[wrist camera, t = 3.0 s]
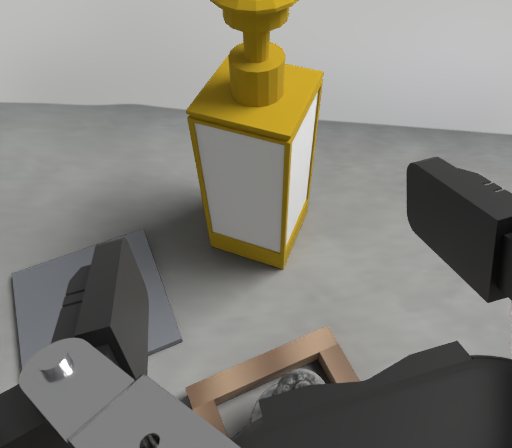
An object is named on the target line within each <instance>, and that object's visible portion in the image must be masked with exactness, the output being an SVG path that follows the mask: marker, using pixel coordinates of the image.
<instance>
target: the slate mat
mask: <svg viewBox="0 0 512 448" xmlns="http://www.w3.org/2000/svg"><path fill="white" fill-rule="evenodd" d="M122 237H125V238H126V239H127V241H128V243H129V245H130V248H131V250H132V253H133V255H134V258H135V260H136V263H137V265H138V267H139V270H140V272H141V275H142V277H143V280H144V283H145V286H146V289H147V293H148V298H149V326H148V355H150V354H153V353H155V352H158V351H160V350H163V349H165V348H168V347H170V346H172V345H175V344H177V343H180V342H182V338H181V335H180V333H179V330H178V327H177V324H176V321H175V318H174V315H173V312H172V310H171V307H170V304H169V301H168V298H167V295H166V292H165V289H164V287H163V284H162V281H161V278H160V275H159V272H158V269H157V266H156V264H155V261H154V258H153V255H152V252H151V249H150V246H149V243H148V241H147V238H146V235H145V232H144V229H141V230H138V231H135V232H132V233H129V234H126V235H123V236H120V237H117V238H114V239H118V238H122ZM114 239H111V240H114ZM111 240H108V241H111ZM105 242H107V241H105ZM95 246H96V245H94V246H91V247H88V248H85V249H82V250H79V251H76V252H73V253H70V254H67V255H64V256H61V257H59V258H56V259H53V260H50V261H47V262H44V263H41V264H38V265H35V266H32V267H29V268H26V269H23V270H20V271H17V272H14V273H12V280H13V289H14V298H15V308H16V317H17V327H18V336H19V345H20V355H21V364H22V369H23V367H24V366H25V365H26V363H27V362H28V361H29V360H30V359H31V358H32V357H33V356H34V355H35V354H36V353H37V352H39V351H40V350H41V349H43V348H45V347H46V346H48V345H50V344H51V341H52V337H53V334H54V331H55V327H56V324H57V321H58V317H59V314H60V311H61V308H63V307H62V304H63V301H64V297H66V295H65V294H66V290H67V287H68V284H69V281H70V279H71V278H72V277H73V276H74V275H75V273H76V272H77V271H78V270H79V269H80V267H83V266H87V265H91V262H92V258H93V254H94V250H95Z"/></svg>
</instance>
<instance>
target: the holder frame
mask: <svg viewBox="0 0 512 448" xmlns="http://www.w3.org/2000/svg"><path fill="white" fill-rule="evenodd" d="M315 360H318V361H319V363H320V365H321V367H322V368H323V370H324V372H325V374H326V376H327V378H328V380H329V382H330V383H345V382H359V379H358V377H357V375H356V374H355V372H354V370H353V368H352V367H351V365H350V363H349V361H348V360H347V358H346V356H345V355H344V353H343V351H342V349H341V348H340V346H339V344H338V342H337V341H336V339H335V337H334V335H333V334H332V332H331V330H330V328H329V327H328V326H326V327H323V328H321V329H319V330H317V331H314V332H312V333H310V334H307V335H305V336H303V337H301V338H298V339H296V340H294V341H291V342H289V343H287V344H284V345H282V346H280V347H278V348H275V349H273V350H271V351H268V352H266V353H264V354H262V355H259V356H257V357H255V358H252V359H250V360H248V361H245V362H243V363H241V364H239V365H236V366H234V367H232V368H229V369H227V370H225V371H223V372H220V373H218V374H216V375H213V376H211V377H209V378H206V379H204V380H202V381H200V382H197V383H195V384H193V385H190V386H188V387H186V391H187V394H188V397H189V400H190V403H191V406H192V409H193V411H194V412H195V413H196V414H198V415H199V416H200V417H202V418H203V419H204V420H206V421H207V422H208V423H209V424H211V425H212V426H213V427H215V428H216V429H217V430H219V431H220V432H221V433H222V434H224V435H225V436H226V437H227V434H226V431H225V429H224V426H223V423H222V420H221V418H220V415H219V412H218V409H217V407H216V405H218V404H221V403H223V402H225V401H227V400H229V399H232V398H234V397H236V396H238V395H240V394H243V393H245V392H247V391H249V390H251V389H254V388H256V387H258V386H260V385H262V384H265V383H267V382H269V381H271V380H273V379H276V378H278V377H280V376H282V375H285V374H286V373H288V372H289V371H292V370H294V369H298V368H300V367H302V366H304V365H307V364H309V363H311V362H313V361H315Z"/></svg>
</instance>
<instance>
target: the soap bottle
mask: <svg viewBox="0 0 512 448" xmlns="http://www.w3.org/2000/svg"><path fill="white" fill-rule="evenodd" d="M210 1H212V2H213V3H214V4H215V5H217V6H218V7H219V8H221V9H223V17H224V20H225V23H226V24H228V25H229V26H230V27H231V28H233V29H236V30H239V31H242V32H243V39H244V40H243V41H244V43H242V44H239V45H237V46H236V47H234V48H233V49H232V50H231V51H230V54H229V55H228V56H227V58H226V59H225V60H224V62H223V63H222V64H221V66H220V67H219V68H218V69H217V71H216V72H215V73H214V75H213V76H212V77H211V79H210V80H209V81H208V82H207V84H206V85H205V86H204V88H203V89H202V90H201V92H200V93H199V94H198V96H197V97H196V98H195V99H194V101H193V102H192V104H191V105H190V106H189V108H188V109H187V110H186V113H187V114H190V115H189V116H188V118H187V119H188V124H189V130H190V135H191V140H192V146H193V151H194V157H195V162H196V168H197V173H198V179H199V184H200V189H201V195H202V200H203V206H204V211H205V217H206V222H207V227H208V233H209V238H210V244H211V246H212V247H216V248H219V249H222V250H225V251H228V252H231V253H234V254H237V255H240V256H243V257H246V258H249V259H252V260H256V261H259V262H262V263H265V264H268V265H271V266H274V267H277V268H280V269H284V266H285V264H286V262H287V259H288V257H289V254H290V252H291V250H292V247H293V245H294V242H295V240H296V238H297V235H298V233H299V230H300V228H301V226H302V223H303V221H304V218H305V216H306V214H307V211H308V202H309V194H310V185H311V177H312V168H313V160H314V151H315V142H316V134H317V125H318V117H319V107H320V100H321V91H322V82H323V79H322V77H323V74H324V72H322V71H317V70H313V69H308V68H303V67H298V66H293V65H288V64H285V53H284V51H283V49H282V48H280V47H279V46H278V45H276V44H274V43H271V42H269V40H270V39H269V36H270V35H269V33H270V31H271V30H273V29H276V28H279V27H281V26H282V25H283V24H284V23H285V22H286V21H287V19H288V15H289V7H291V6H292V5H293V4H295V3H296V2H297V1H298V0H210Z"/></svg>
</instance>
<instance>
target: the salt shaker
mask: <svg viewBox="0 0 512 448" xmlns="http://www.w3.org/2000/svg"><path fill="white" fill-rule="evenodd" d="M316 384H325V382H324V381H323V380H322V378H321V377H320V376H319V375H317V374H316V373H315V372H313V371H310V370H308V369H302V368H300V369H294V370H292V371H289V372H288V373H286V374H285V375H284V376H283V377H282V378H281V380H280V381H279V383H277V384H275V385H272V386H271V387H270V388H269V389H267V390H266V391H265V392H264V393H263V394H262V395H261V397H260V398H259V399H258V400H260V399H263V398H266V397H270V396H273V395H277V394H280V393H283V392H287V391H290V390H293V389H297V388H300V387H303V386H307V385H316ZM260 417H262V414H261V410H260V406H259V401H257V402H256V404H255V407H254V409H253V412H252V416H251V423H252V422H254V421H255V420H257V419H259V418H260ZM251 423H250V424H251Z"/></svg>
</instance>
